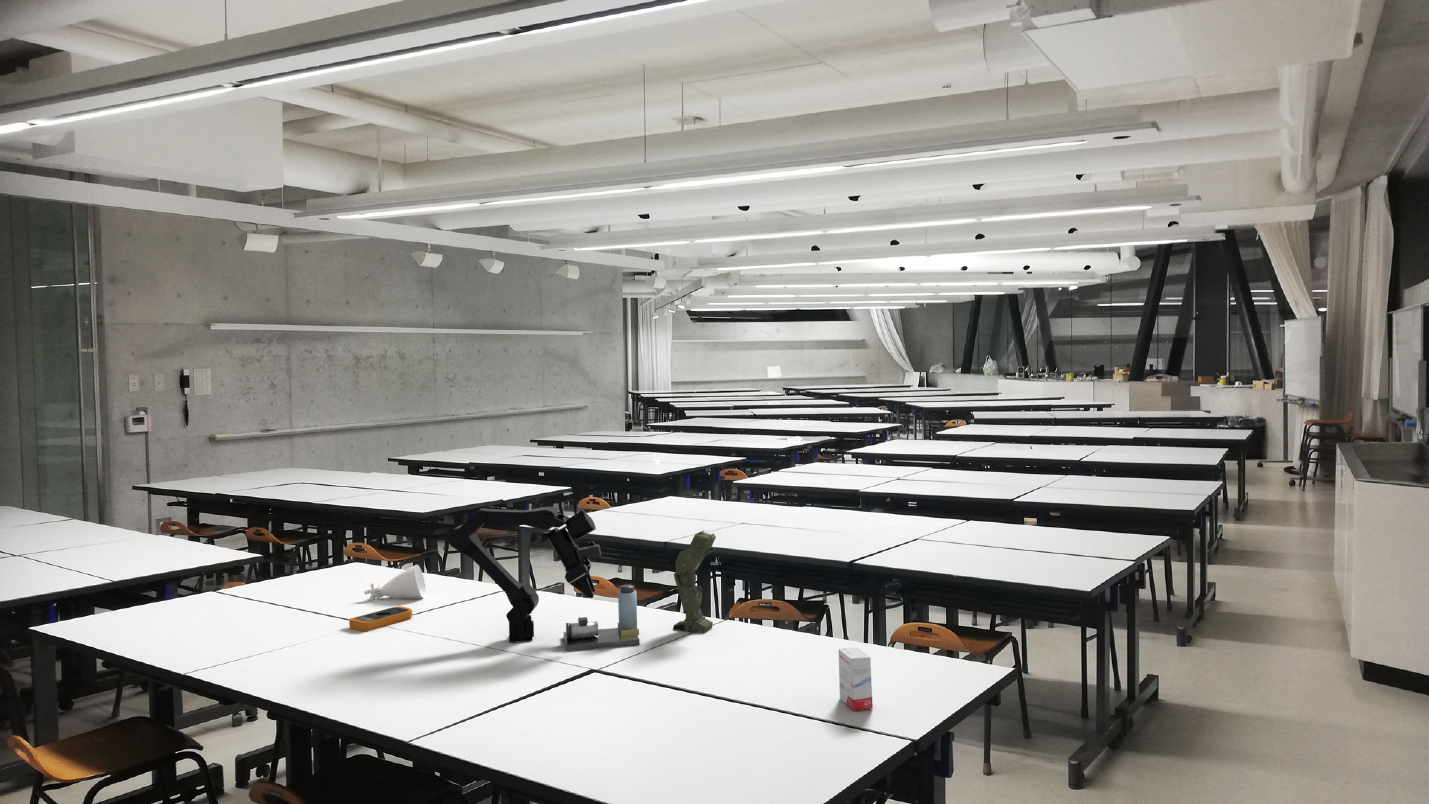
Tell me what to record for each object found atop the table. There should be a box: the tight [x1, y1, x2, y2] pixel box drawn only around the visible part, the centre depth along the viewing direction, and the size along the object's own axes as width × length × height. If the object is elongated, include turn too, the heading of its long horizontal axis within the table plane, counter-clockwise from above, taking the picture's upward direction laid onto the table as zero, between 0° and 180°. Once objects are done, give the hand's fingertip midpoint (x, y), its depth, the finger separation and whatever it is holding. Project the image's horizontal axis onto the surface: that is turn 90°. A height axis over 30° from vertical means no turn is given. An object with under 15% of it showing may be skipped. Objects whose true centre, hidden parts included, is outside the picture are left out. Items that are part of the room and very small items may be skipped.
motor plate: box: [563, 616, 641, 652], centre depth 262 cm, size 20×13×7 cm, turn 103°
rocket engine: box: [363, 564, 427, 602], centre depth 313 cm, size 12×12×18 cm
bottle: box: [617, 584, 638, 633], centre depth 265 cm, size 5×5×13 cm
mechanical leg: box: [672, 529, 717, 634], centre depth 271 cm, size 14×7×30 cm, turn 68°
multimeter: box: [348, 605, 413, 633], centre depth 284 cm, size 9×18×3 cm, turn 146°
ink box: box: [837, 646, 874, 712], centre depth 211 cm, size 9×5×12 cm, turn 13°
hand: (593, 594), depth 264 cm, fingers open, 9 cm apart
